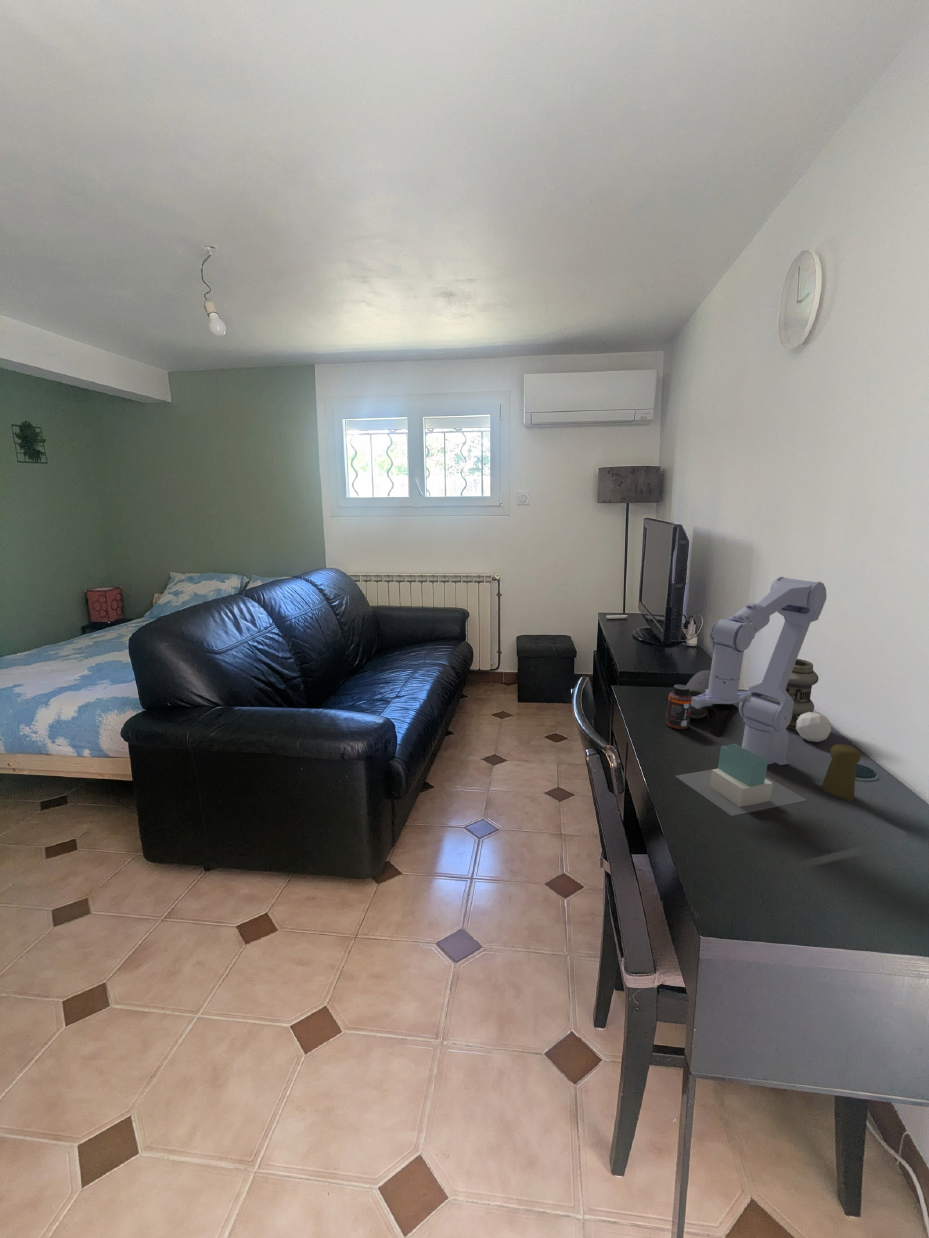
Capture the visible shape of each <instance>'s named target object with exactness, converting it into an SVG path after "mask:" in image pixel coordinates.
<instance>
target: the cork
mask: <svg viewBox="0 0 929 1238" xmlns="http://www.w3.org/2000/svg"><path fill="white" fill-rule="evenodd" d="M829 755H830V757H831V761H830V763H829V766H828V768H827V771H826V774H825V775H824V779H823V781H822V785H821V790H823V791H824V792H826V793H827V794H829V795H831V796H834V797H838V798H840V799H842V800H844V801H846V802H849V803H852V802H854V800H855V794H856V793H855V787H856V786H855V785H856V765H858V763H859V762H860V761H861V753H860V751H859V750H858V749H857V748H856V747H854V746H852V745H848V744H844V743H836V744H834V745H833V746H831V748H830V751H829Z"/></svg>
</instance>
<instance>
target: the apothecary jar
mask: <svg viewBox="0 0 929 1238" xmlns="http://www.w3.org/2000/svg"><path fill="white" fill-rule="evenodd" d="M818 682H819V676H818V674H817V673H816V672H815V671H814V664H813V663H812V662H811V661H808V660H805V659H801V658H797V660H796V662H795V665H794V668H793V670H792V673H791V675H790V678H789V681H788V683H787V686H786V689H785V690H786V691H787V693H788V694H789V695H790V697H791V698H792V699H793V701H794V706H793V710H792V718H791V721H790V723H789V725H788V726H787V727H786V729H791V728H793V729H792V730H796V723H797V720H798V718H799V717H800V715H801V714H804V713H807V712H814V710H815V703H814V702H813V701H812V700H811V696H812V689H813V688H812V687H813V686H814V685H816V684H817V683H818ZM764 698H767V699H770V700H773V701H776V702H779V700H776V699H772V698H769V697H766V696H764ZM779 703H780V702H779Z"/></svg>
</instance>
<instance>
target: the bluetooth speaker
mask: <svg viewBox="0 0 929 1238" xmlns="http://www.w3.org/2000/svg"><path fill="white" fill-rule="evenodd" d="M710 672H711V670H709V669H708V670H707V669H706V670H705V669H704V670H700V671H698V672H697V673H695V674H694V675H693V676H692V677H691V678H690V679H689V681H688V682H687V683H686V685H685V686H688V687H689V688H690V689H689V694H690V695H691V697H695V696H698V695H701V694H703V693H705V690H706V689H708V687H709V680H710ZM706 716H707V713H706V711H705V708H704V707H701V708H698V709H697V708H695V707H693V706H691V712H690V718H692V719H702V718H704V717H706Z"/></svg>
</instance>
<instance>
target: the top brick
mask: <svg viewBox="0 0 929 1238" xmlns="http://www.w3.org/2000/svg"><path fill="white" fill-rule="evenodd" d="M768 765H769V764H768V760H766V759H764V758H762V757H760V756H758V755H756V754H754V753H752V752H750V751H748V750H746V749H744V748H742V746H740V745H738V744H736V743H730V744H727V745H721V746H720V751H719V757H718V764H717V769H720V770H722V771H724V772H725V773H727V774H729V775H731V776H732V777H734V778H736V779H738V780H739V781H741V782H743V783H745V784H746V785H748V786H750V787H751V786H755V785H759V784H763V783H764V782H765V776H766V775H767V770H768ZM766 777H767V776H766Z"/></svg>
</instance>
